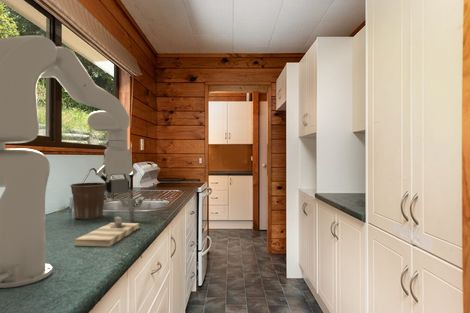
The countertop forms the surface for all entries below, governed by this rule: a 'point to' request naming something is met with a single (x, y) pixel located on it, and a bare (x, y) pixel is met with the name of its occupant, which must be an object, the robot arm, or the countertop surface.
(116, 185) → the grey and orange block
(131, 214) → the mechanical component
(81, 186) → the plant pot
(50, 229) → the countertop surface
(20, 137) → the robot arm
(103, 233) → the light wood flat block
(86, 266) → the countertop surface
